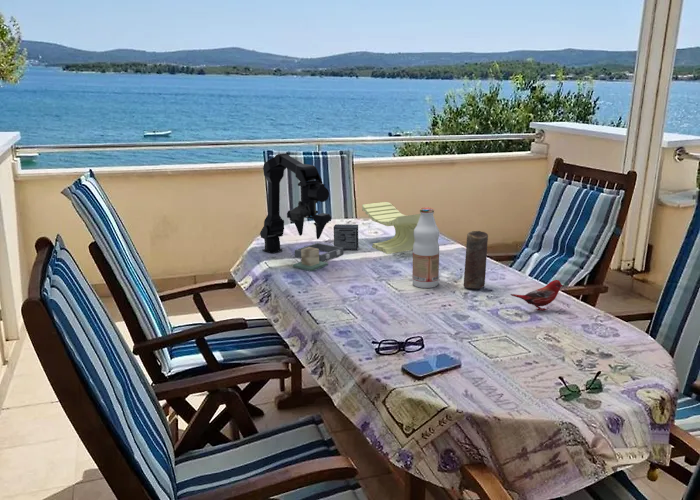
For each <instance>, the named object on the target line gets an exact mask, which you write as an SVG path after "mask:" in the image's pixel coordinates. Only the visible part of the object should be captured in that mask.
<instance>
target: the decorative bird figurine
mask: <svg viewBox="0 0 700 500" xmlns="http://www.w3.org/2000/svg"><path fill="white" fill-rule="evenodd" d="M562 287H564V285H563V284H562V283H561V281H560V280H558V279H554V280H552V281H550V282H549V283H548V284H546V285H544V286H543V287H540V288H537V289H535V290H532V291H530V292H528V293H526V294H514V293H511V294H510V296H512V297H514V298H519V299H521V300H524V301H525V302H526V303H527V304H528V305H532V306H534V307H535V309H534V311H546V310H550V308H545V307H544V306H548V305H549V304H551V303H552V302H553V301H555V299H556V298H557V296H558V294H559V292H560V290H561V288H562ZM542 307H543V308H542Z"/></svg>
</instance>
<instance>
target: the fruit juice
mask: <svg viewBox="0 0 700 500" xmlns="http://www.w3.org/2000/svg"><path fill="white" fill-rule="evenodd" d="M419 214H421V216H420V218H419V221H418V224H417V226H416V227H415V229H414V239H415V242H414V245H413V250H412V278H411V280H412V281H411V282H412V285H413V286H415V287H416V288H420V289H421V288H422V289H431V288H435V287H437V286H438V285H439V280H440V279H439V276H440V275H439V274H440V272H439V270H440V244H439V237H440V229H439V227H438V226H437V223H436V219H435V216H434V215H435V209H434V208H433V207H429V206H428V207H426V206H425V207H420V208H419Z"/></svg>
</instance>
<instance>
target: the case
mask: <svg viewBox="0 0 700 500" xmlns="http://www.w3.org/2000/svg"><path fill="white" fill-rule="evenodd" d="M308 247H312V248H317V249H319V252H324V253H323V254H319V261H322V262H327V261H330V260H332V259H335V258H338V257H340V256H343V255H344V250H343V248H341V247H336V246H334V245H330V244H326V243H320V242H316V243H313V244H308V245H306V246H302V247H300V248H296V249H294V258H299V259H301V249H305V248H308Z"/></svg>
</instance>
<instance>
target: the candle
mask: <svg viewBox="0 0 700 500" xmlns="http://www.w3.org/2000/svg"><path fill="white" fill-rule="evenodd" d="M488 242H489V234H488V233H487V232H485V231H480V230H472V231H470V232H468V233H467V234H466V245H465V247H466V248H465V263H464V273H463V275H464V277H463V287H464V288H466V289H471V290H478V289H481V288H483V287H485V285H486V271H487V253H488Z"/></svg>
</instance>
